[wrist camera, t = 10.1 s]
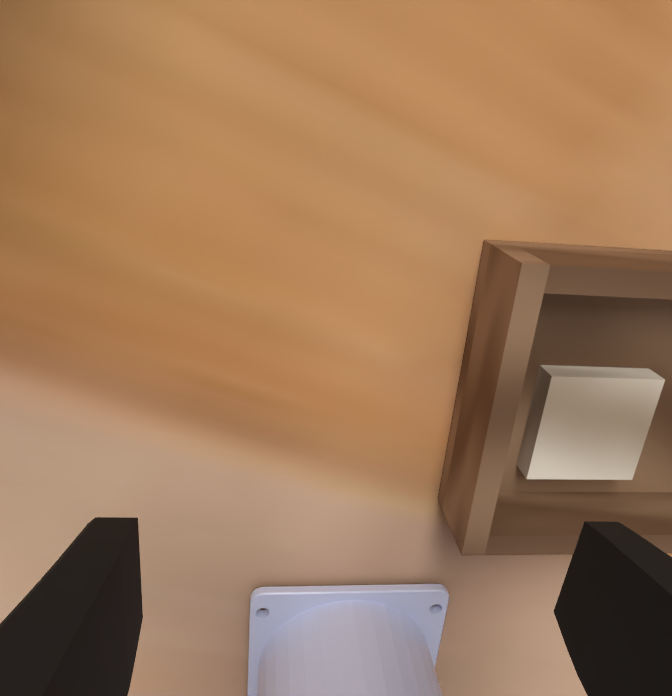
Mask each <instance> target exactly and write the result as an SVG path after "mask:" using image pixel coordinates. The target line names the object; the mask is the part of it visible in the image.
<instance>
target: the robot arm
mask: <svg viewBox="0 0 672 696" xmlns="http://www.w3.org/2000/svg"><path fill="white" fill-rule="evenodd" d="M448 601H449V594H448V591H447V589H446V587H445V586H443V585H441V584H398V585H340V586H283V587H260V588H257V589H255V590H254V591H253V592H252V593H251V597H250V625H249V659H248V692H247V696H442V692H441V689H440V685H439V682H438V678H437V675H436V672H435V665H436V660H437V655H438V650H439V646H440V641H441V636H442V631H443V626H444V621H445V616H446V611H447V606H448ZM435 604H437V605H436V606H432V605H435ZM261 608H266V609H265V610H259V609H261ZM554 613H555V616H556V619H557V622H558V625H559V627H560V630H561V633H562V636H563V639H564V641H565V644H566V647H567V649H568V652H569V655H570V657H571V660H572V662H573V665H574V667H575V670H576V672H577V675H578V677H579V679H580V681H581V683H582V685H583V687H584V689H585V691H586V693H587V695H588V696H672V557H670V556H669V555H667V554H666V553H664V552H663V551H662V550H660V549H659V548H657V547H656V546H655V545H653V544H652V543H650V542H649V541H647V540H646V539H644V538H643V537H641V536H640V535H638V534H637V533H635V532H634V531H632V530H631V529H629V528H628V527H626V526H624V525H623V524H621V523H620V522H596V521H584V524H583V527H582V530H581V533H580V536H579V539H578V542H577V545H576V548H575V551H574V554H573V556H572V559H571V562H570V565H569V568H568V571H567V574H566V577H565V580H564V583H563V586H562V589H561V592H560V595H559V597H558V600H557V603H556V606H555V609H554ZM142 618H143V613H142V593H141V573H140V554H139V534H138V518H94V519H93V520H92V521H91V522H89V523H88V524H87V525H86V527H85V528H84V529H83V530H82V532H81V533H80V534H79V535H78V536H77V538H76V539H75V540H74V541H73V542H72V544H71V545H70V546H69V547H68V548H67V550H66V551H65V552H64V553H63V554H62V555H61V557H60V558H59V559H58V560H57V561H56V562H55V564H54V565H53V566H52V567H51V568H50V569H49V571H48V572H47V573H46V574H45V575H44V576H43V577H42V578H41V580H40V581H39V582H38V583H37V584H36V585H35V586H34V588H33V589H32V590H31V591H30V592H29V593H28V594H27V595H26V596H25V598H24V599H23V600H22V601H21V602H20V603H19V604H18V605H17V606H16V607H15V608H14V609H13V611H12V612H11V613H10V614H9V615H8V616H7V617H6V618H5V619H4V620H3V621H2V622H1V624H0V696H127V694H128V691H129V687H130V682H131V677H132V672H133V667H134V662H135V657H136V651H137V646H138V640H139V635H140V629H141V624H142Z"/></svg>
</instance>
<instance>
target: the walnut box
mask: <svg viewBox="0 0 672 696" xmlns="http://www.w3.org/2000/svg"><path fill="white" fill-rule="evenodd" d="M438 501H439V503H440V505H441V508H442V510H443V512H444V515H445V517H446V519H447V522H448V524H449V527H450V529H451V531H452V534H453V536H454V538H455V541H456V543H457V546H458V548H459V550H460V553H461V555H537V554H574V551H575V548H576V545H577V542H578V539H579V536H580V533H581V530H582V527H583V524H584V521H596V522H620V523H621V524H623V525H624V526H626V527H628V528H629V529H631V530H632V531H634V532H635V533H637V534H638V535H640V536H641V537H643V538H644V539H646V540H647V541H649V542H650V543H652V544H653V545H655V546H656V547H657V548H659V549H660V550H662V551H663V552H664V553H672V251H662V250H646V249H629V248H612V247H596V246H579V245H563V244H546V243H529V242H513V241H496V240H484V244H483V250H482V255H481V261H480V266H479V272H478V278H477V283H476V289H475V294H474V300H473V306H472V311H471V317H470V322H469V328H468V334H467V339H466V345H465V350H464V356H463V361H462V367H461V373H460V378H459V384H458V389H457V395H456V401H455V406H454V412H453V417H452V423H451V429H450V434H449V440H448V445H447V451H446V457H445V462H444V468H443V473H442V479H441V485H440V490H439V496H438Z"/></svg>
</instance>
